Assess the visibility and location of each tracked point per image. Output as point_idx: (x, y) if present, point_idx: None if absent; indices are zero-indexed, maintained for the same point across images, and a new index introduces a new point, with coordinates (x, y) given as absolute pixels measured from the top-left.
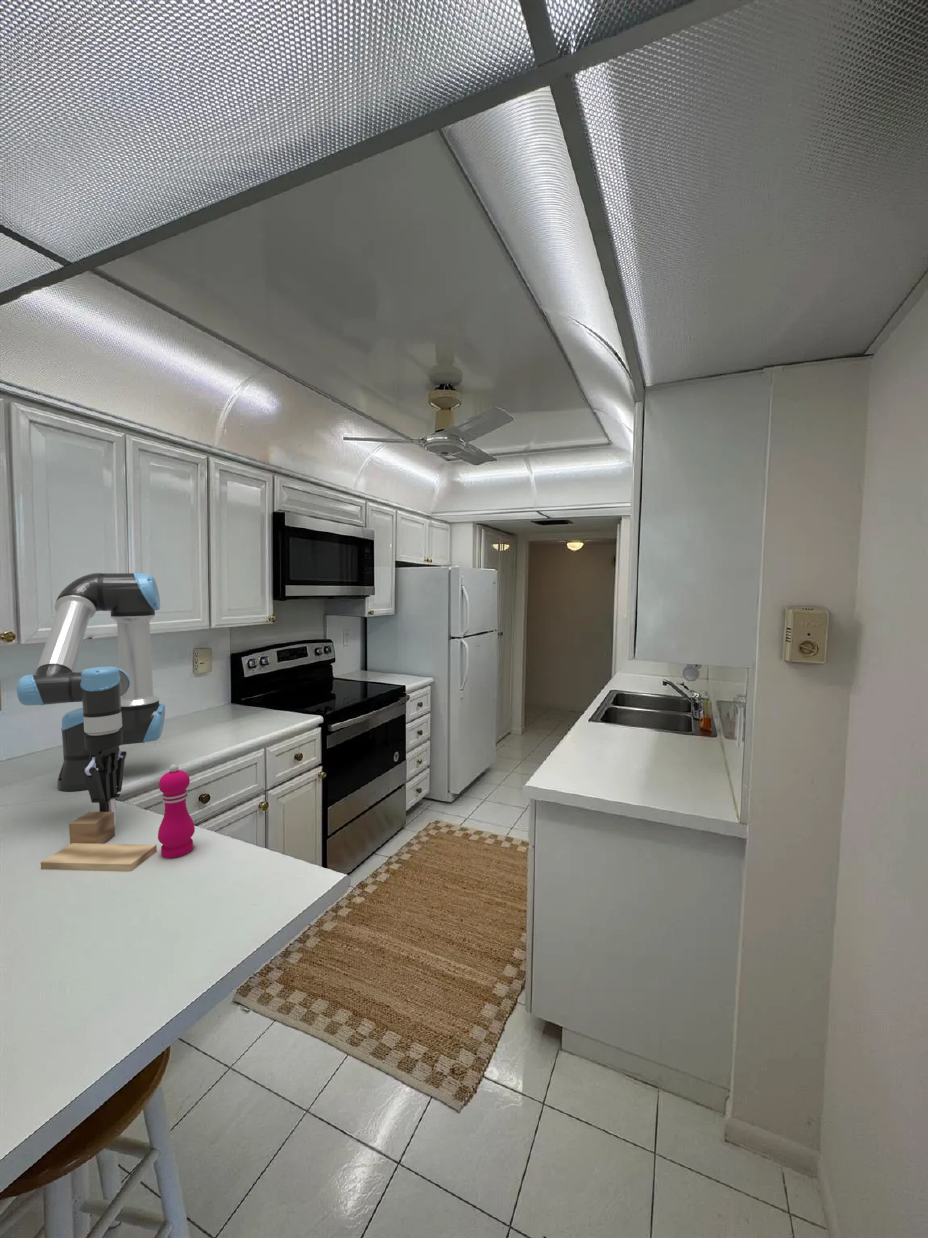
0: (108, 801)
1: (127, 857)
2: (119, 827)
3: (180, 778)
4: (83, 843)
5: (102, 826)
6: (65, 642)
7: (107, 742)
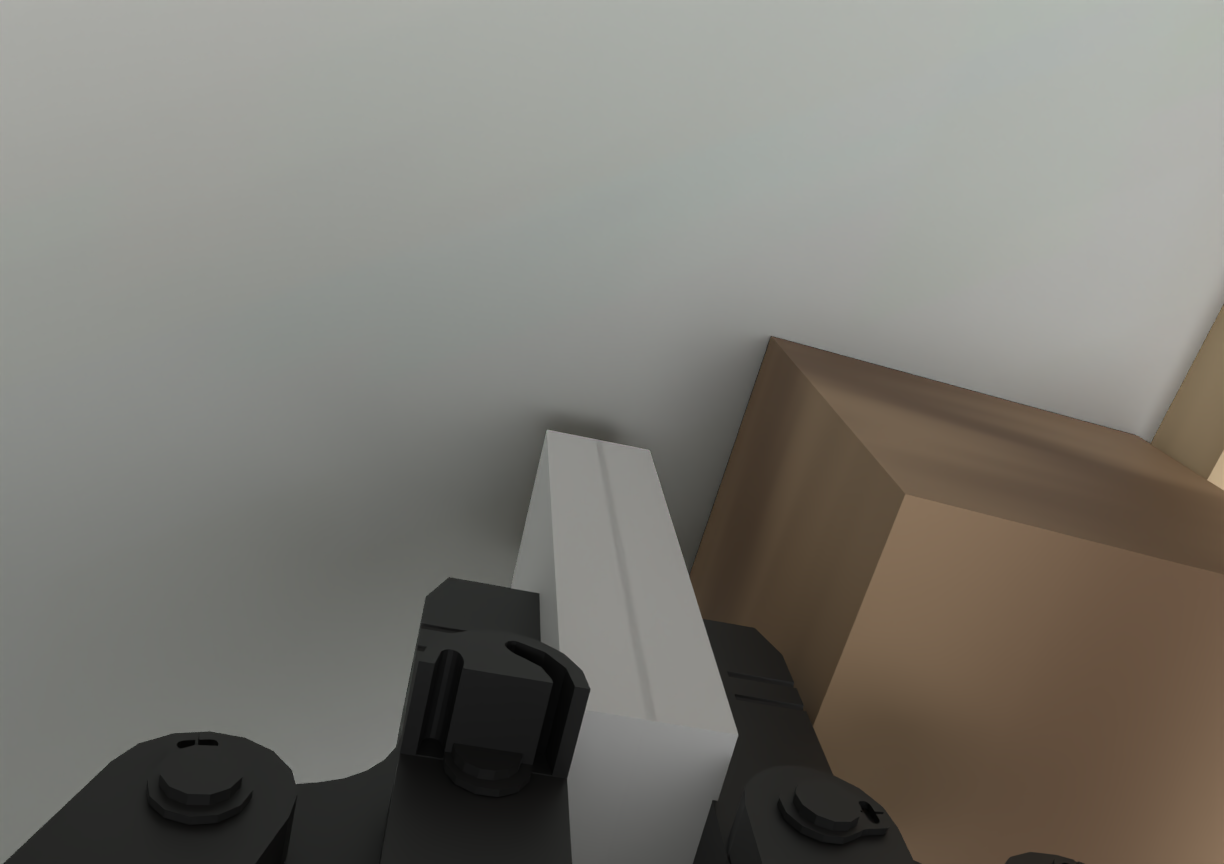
0: (825, 778)
1: None
2: (430, 392)
3: None
4: None
5: (1165, 513)
6: None
7: None
